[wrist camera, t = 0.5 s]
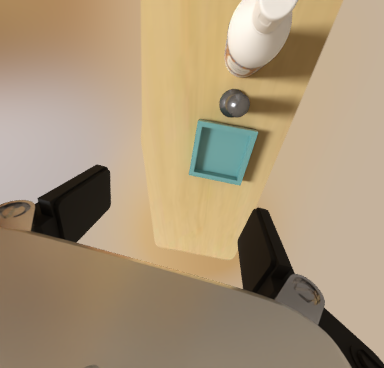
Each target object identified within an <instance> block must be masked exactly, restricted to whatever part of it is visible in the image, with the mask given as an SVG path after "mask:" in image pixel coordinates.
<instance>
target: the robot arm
mask: <svg viewBox="0 0 384 368" xmlns="http://www.w3.org/2000/svg"><path fill="white" fill-rule="evenodd" d="M110 205H111V194H110V171H109V170H108V168H107V167H105V166H101V165H95V166H93V167H92V168H90V169H88V170H86V171H85V172H83V173H81V174H79V175H78V176H76V177H74V178H72V179H71V180H69V181H67V182H65V183H64V184H62V185H60V186H59V187H57V188H55V189H53V190H51V191H50V192H48V193H46V194H44V195H43V196H41V197H39V198H38V203H36V204H34V203H33V202H31V201H27V200H16V201H10V202H7V203H3V204H1V205H0V368H384V364H383V362H382V361H381V360H380V359H379V358H378V356H377V355H376V354H375V353H374V352H373V351H372V350H371V349H369V348H368V347H367V346H366V345H365V344H364V343H363V342H362V341H361V340H359V339H358V338H357V337H356V336H355V335H354V334H353V333H352V332H350V331H349V330H348V329H347V328H346V327H345V326H344V325H343V324H342V323H341V322H339V321H338V320H337V319H336V318H335V317H334V316H333V315H332V314H330V312H328V311H327V310H326V309H325V308H324V305H325V300H324V297H323V295H322V293H321V292H320V290H319V289H318V288H317V286H316V285H315V284H314V283H313V282H311V281H310V280H309V279H307V278H306V277H304V276H302V275H298V274H295V273H294V271H293V269H292V266H291V264H290V261H289V259H288V257H287V254H286V252H285V249H284V247H283V245H282V242H281V240H280V238H279V235H278V233H277V231H276V228H275V226H274V224H273V221H272V219H271V216H270V214H269V212H268V210H266V209H262V208H257V209H254V210H253V211H252V213H251V215H250V217H249V219H248V221H247V223H246V225H245V227H244V229H243V231H242V233H241V235H240V237H239V239H238V251H239V259H240V267H241V275H242V283H243V289H240V288H237V287H233V286H230V285H227V284H223V283H220V282H217V281H213V280H209V279H206V278H203V277H199V276H195V275H192V274H188V273H185V272H181V271H178V270H174V269H171V268H167V267H163V266H160V265H156V264H152V263H149V262H145V261H141V260H138V259H134V258H131V257H127V256H124V255H120V254H116V253H112V252H109V251H105V250H101V249H97V248H94V247H90V246H86V245H83V244H79V243H76V242H77V241H78V240H79V239H80V238H81V237H82V236H83V235H84V234H85V233H86V232H87V231H88V230H89V229H90V228H91V227H92V226H93V225H94V224H95V223H96V222H97V221H98V220H99V219H100V218H101V216H102V215H103V214H104V213H105V212H106V211H107V210H108V209H109V208H110Z"/></svg>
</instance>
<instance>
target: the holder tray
mask: <svg viewBox="0 0 384 368" xmlns="http://www.w3.org/2000/svg"><path fill="white" fill-rule="evenodd" d="M257 135H258V131H257V130H255V129H250V128H245V127H239V126H234V125H229V124H224V123H218V122H213V121H208V120H203V119H199V120H198V124H197V130H196V136H195V142H194V148H193V153H192V159H191V165H190V171H189V175H192V176H197V177H202V178H207V179H211V180H216V181H221V182H226V183H231V184H235V185H241V182H242V179H243V176H244V173H245V170H246V167H247V165H248V162H249V159H250V156H251V153H252V150H253V147H254V144H255V141H256V138H257Z"/></svg>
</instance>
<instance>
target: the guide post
mask: <svg viewBox="0 0 384 368" xmlns="http://www.w3.org/2000/svg"><path fill="white" fill-rule="evenodd" d="M219 105H220V110H221V112H222V113H223V114H224V115H225V116H227V117H241V116H243V115H245V114H246V113H247V111H248V109H249V106H250V101H249V99H248V97H247V96H246V95H245V94H243V93H242V92H241V91H239V90H237V89H231V90H228V91H226V92H225V93H224V94H223V95H222V97H221V99H220V104H219Z"/></svg>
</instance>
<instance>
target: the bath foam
mask: <svg viewBox="0 0 384 368" xmlns="http://www.w3.org/2000/svg"><path fill="white" fill-rule="evenodd" d="M297 1H298V0H242V1H241V2H240V4H239V5H238V7H237V8H236V10H235V12H234V14H233V16H232V18H231V20H230V23H229V27H228V33H227V41H226V48H225V64H226V67H227V69H228V70H229V72H230V73H231V74H232V75H234V76H236V77H247V76H250V75H252V74H253V73H255V72H256V71H258V70H259V69H260V68H262V67H263V66H264V65H266V64H267V63H269V62H270V61H271V60H272V59H273V58H274V57H275V56H276V55H277V54H278V53H279V51H280V50H281V49H282V47H283V45H284V44H285V42H286V40H287V38H288V35H289V32H290V29H291V24H292V10H293V9H294V7H295V5H296V3H297Z"/></svg>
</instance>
